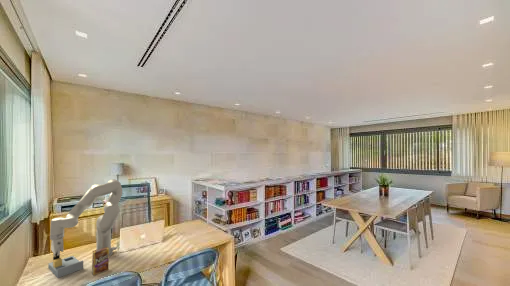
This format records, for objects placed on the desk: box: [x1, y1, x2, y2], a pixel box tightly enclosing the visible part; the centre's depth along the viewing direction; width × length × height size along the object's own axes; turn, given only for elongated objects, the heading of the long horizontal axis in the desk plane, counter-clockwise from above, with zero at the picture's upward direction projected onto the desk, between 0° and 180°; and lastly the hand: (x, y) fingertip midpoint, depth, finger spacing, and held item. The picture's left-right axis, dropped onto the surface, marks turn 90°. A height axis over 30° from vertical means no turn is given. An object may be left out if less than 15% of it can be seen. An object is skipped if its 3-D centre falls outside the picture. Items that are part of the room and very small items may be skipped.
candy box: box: [91, 247, 110, 276], centre depth 154 cm, size 9×4×15 cm, turn 140°
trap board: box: [47, 255, 84, 279], centre depth 158 cm, size 14×21×6 cm, turn 55°
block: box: [52, 257, 63, 268], centre depth 156 cm, size 4×4×4 cm
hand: (56, 261), depth 158 cm, fingers closed
